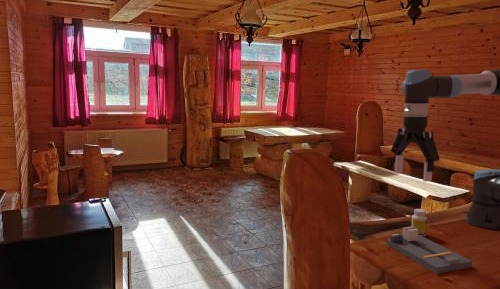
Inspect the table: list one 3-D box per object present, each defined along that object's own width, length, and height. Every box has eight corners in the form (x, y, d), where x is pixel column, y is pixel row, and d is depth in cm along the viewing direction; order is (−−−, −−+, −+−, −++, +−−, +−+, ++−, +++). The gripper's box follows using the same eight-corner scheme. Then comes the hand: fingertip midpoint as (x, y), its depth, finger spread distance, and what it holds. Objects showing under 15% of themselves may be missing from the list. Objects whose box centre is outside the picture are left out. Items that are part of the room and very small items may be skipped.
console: (417, 239, 143) (418, 227, 142) (471, 267, 120) (472, 253, 120) (386, 244, 139) (386, 232, 138) (436, 273, 116) (437, 259, 116)
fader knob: (412, 237, 139) (412, 225, 138) (417, 240, 136) (418, 228, 136) (402, 238, 138) (402, 227, 137) (407, 241, 135) (408, 230, 134)
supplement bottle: (427, 237, 145) (429, 212, 144) (412, 236, 146) (414, 212, 145) (424, 232, 150) (425, 208, 149) (409, 231, 151) (411, 207, 150)
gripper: (382, 114, 139) (380, 170, 142) (435, 118, 116) (431, 185, 119) (399, 113, 142) (396, 169, 145) (454, 117, 118) (450, 183, 121)
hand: (412, 176), depth 132 cm, fingers open, 13 cm apart
